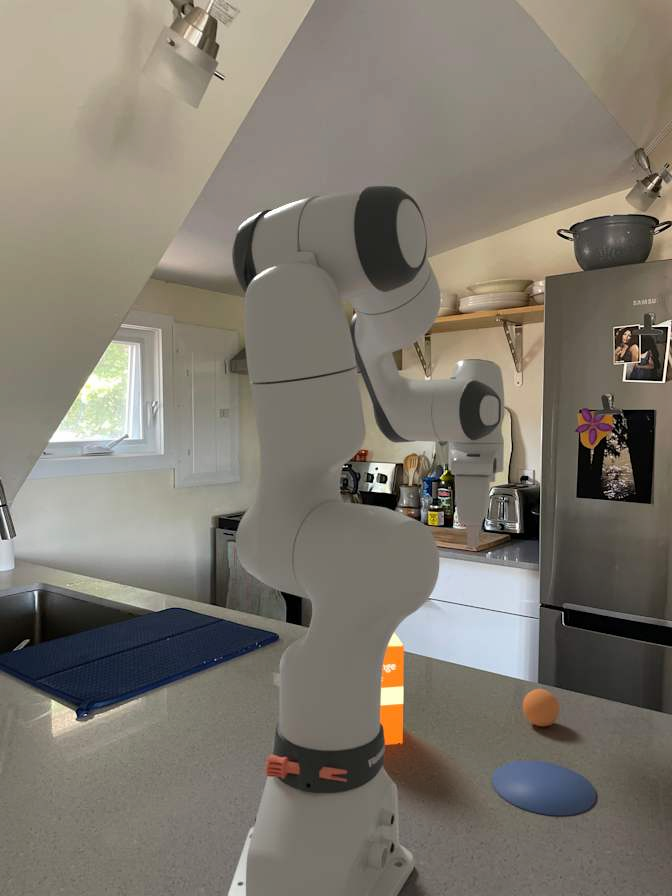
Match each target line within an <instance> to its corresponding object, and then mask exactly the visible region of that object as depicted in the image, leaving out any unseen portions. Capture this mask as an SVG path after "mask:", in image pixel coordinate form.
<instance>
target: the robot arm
mask: <svg viewBox="0 0 672 896" xmlns="http://www.w3.org/2000/svg"><path fill="white" fill-rule="evenodd" d="M427 239H428V237H427V229H426V225H425V220H424V216H423V213H422V211H421V209H420V207H419V205H418V204H417V202H416V201H415V198H413V197H412V196H411V195H409V194H408V193H407V192H406V191H404V190H403V189H401V188H400V187H397V186H390V185H375V186H373V185H372V186H368V187H366V188H364V189H363V190H355V191H347V192H346V191H345V192H340V193H339V192H338V193H332V194H328V195H323V196H321V195H314V196H310V197H307V198H303V199H300V200H297V201H293V202H291V203H288V204H285V205H282V206H280V207H278V208H275V209H265V210H262V211H261V212H258V213H257V214H254V215H253V216H251V217H249V218H247V220H244V221H243V223H242V224H241V225H239V228H238V229H237V231H236V235H235V239H234V242H233V245H232V246H233V247H232V251H231V254H232V255H231V257H232V265H233V270H234V273H235V276H236V280H237V282H238V284H239V285H240V288H242V291H243V292H244V293H245V296H244V317H243V318H244V343H245V344H244V345H245V356H246V364H247V365H246V366H247V373H248V378H249V385H250V390H251V396H252V403H253V409H254V416H255V421H256V430H257V436H258V443H259V454H260V456H259V458H260V459H259V461H260V463H259V475H258V476H259V478H258V484H257V491H256V494H255V498H254V501H253V503H252V505H251V506H249V508H247V510H246V511H245V513H244V514H243V516H242V518H241V519H240V522H239V523H238V527H237V530H236V535H235V536H236V537H235V550H236V554H237V555H236V556H237V557H238V561H239V562H240V564H241V566H242V568H243V569H244V570H245V571H246V572H247V573H249V574H250V575H252V576H253V577H255V578H256V579H258V581H260V582H262V583H263V584H266V585H267V586H268V587H270V588H271V589H273V590H275V591H279V592H282V593H286V594H289V595H294V596H297V597H300V598H304V599H307V600H310V602H311V606H312V609H311V610H312V614H311V619H310V623H309V627H308V630H307V633H306V634H305V635H303V636H301V637H300V638H298V639H297V640H295V641H294V642H293V643H291V644H290V645H289V646H288V647H287V649H285V651H284V652H283V654H282V656H281V659H280V662H279V667H278V668H279V674H278V675H279V676H278V677H279V678H278V679H279V681H278V682H279V684H278V685H279V689H278V690H279V691H278V693H279V694H278V695H279V696H278V700H279V701H278V702H279V703H278V705H279V706H278V707H279V709H278V715H279V716H278V719H279V720H278V723H277V724H276V727H275V734H274V738H273V740H272V748H271V749H272V751H271V753H272V754H270V755H269V756H268V758H267V761H266V764H265V765H266V766H265V774H266V776H267V777H266V781H265V786H264V788H263V792H262V795H261V799H260V804H259V806H258V811H257V814H256V816H255V817H254V825H253V826H252V827H251V828H250V829H249V830H248V832H247V836H246V839H245V842H244V844H243V848H242V851H241V854H240V856H239V859H238V863H237V865H236V868H235V871H234V874H233V877H232V880H231V884H230V886H229V889H228V893H227V895H226V896H398V895H399V894H400V892H401V890H402V888H403V887H404V885H405V884H406V882H407V880H408V879H409V877H410V876H411V873H412V872H413V870H414V868H415V861H414V859H415V858H414V855H413V854H412V852H411V851H409V850H408V849H407V848H406V847H404V846H403V845H402V844H400V834H399V833H400V832H399V831H400V830H399V827H400V826H399V801H398V797H399V795H398V787H397V785H396V784H395V782H394V780H393V779H391V777H390V775H389V774H388V773H387V771H386V770H385V768H384V762H385V750H386V745H385V738H384V729H383V726H382V724H381V723H380V708H381V684H382V669H383V663H384V657H385V654H386V650H387V647H388V644H389V642H390V639H391V637H392V635H393V634H394V632H395V633H396V630H397V628H398V627H399V626H400V625H401V623H402V622H403V621H404V620H405V619H407V618H408V617H409V616H411V615H412V614H414V613H416V612H417V611H418V610H420V608H422V607H423V606H424V604H425V603H426V602H427V601H428V600H429V598H430V597H431V595H432V593H433V592H434V589H436V588H435V587H436V584H437V581H438V579H439V572H440V553H439V548H438V544H437V541H436V539H435V537H434V535H433V533H432V532H431V530H430V528H429V527H427V525H426V524H424V523H423V522H421V521H419V520H417V519H415V518H413V517H410V516H408V515H405V514H404V513H401V512H399V511H395V510H392V509H390V508H388V507H385V506H384V507H383V506H377V505H370V504H362V503H354V502H353V503H352V502H347V501H344V500H343V498H342V495H341V477H342V471H343V467H344V465H345V464H347V463H349V461H351V459H353V458H354V457H355V456H357V454H358V453H359V452H360V450H361V449H362V447H363V445H364V443H365V440H366V439H365V438H366V435H367V434H366V430H367V429H366V423H365V416H364V409H363V404H362V402H363V401H362V396H361V387H360V381H359V374H358V373H359V372H358V369H359V371H360V374H361V376H362V379H363V381H364V385H365V387H366V390H367V392H368V395H369V398H370V400H371V403H372V409H373V414H374V420H375V422H376V423H375V424H376V425H377V428H378V429H379V431H380V432H381V433H382V434H383V435H384V437H386V439H387V440H389V441H390V442H392V443H397V444H398V443H409V442H411V443H412V442H439V443H440V442H441V443H445V442H448V464H447V465H448V466H447V467H448V471H450V474H451V475H454V491H455V505H456V514H457V520H458V523H459V524H460V525H465V527H466V535H467V536H466V537H467V542H466V544H467V547H468V548H471V549H477V548H478V547H479V545H480V542H481V540H482V528H483V522H484V519H485V518H486V516H487V513H488V510H489V508H490V494H491V493H490V488H491V487H490V484H491V483H494V482H496V474H497V473H503V471H504V459H505V458H504V455H505V454H504V451H505V447H504V445H505V441H504V435H503V433H502V432H503V431H502V430H503V429H502V426H503V423H504V422H503V421H504V419H505V389H504V388H505V387H504V379H503V375H502V374H503V373H502V370H501V367H500V365H499V364H497V363H495V362H494V361H491V360H486V359H479V358H477V359H475V358H471V359H469V358H468V359H463V360H459V361H457V362H455V364H454V366H453V371H452V376H450V377H449V378H444V379H441V378H439V379H412V378H408V377H404V376H402V375H400V372H399V369H398V367H397V364H396V361H395V358H394V354H393V353H394V352H397V351H400V350H402V349H406V348H408V347H410V346H411V345H413V344H415V343H416V342H418V341H419V340H420V339H422V337H424V336H425V335H426V333H428V332H429V330H430V329H431V328H432V326H433V325H434V323H435V322H436V320H437V317H438V315H439V311H440V309H441V302H442V298H441V297H442V295H441V291H440V285H439V283H438V279H437V277H436V274H435V272H434V269H433V268H432V266H431V264H430V261H429V260H428V257H427V252H428V248H427V247H428V242H427ZM344 300H345V301H346V300H348V302H350V304H351V307H352V308H353V310H354V312H355V313H354V315H353V316H352V319H351V321H350V324H349V322H348V318H347V314H346V312H345V311H346V310H345V307H344V305H343V301H344ZM357 366H358V367H357Z"/></svg>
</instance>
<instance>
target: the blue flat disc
mask: <svg viewBox="0 0 672 896" xmlns="http://www.w3.org/2000/svg"><path fill="white" fill-rule="evenodd" d="M491 785H492V788H493V789H494V791H495V792H496V793H497V795H499V796H500V798H502V799H504V800H505V802H507V803H509V804H511V805H513V806H515V807H517V808H519V809H522V810H525V811H528V812H531V813H536V814H540V815H545V816H557V817H558V816H559V817H560V816H563V817H565V816H573V815H577V814H580V813H583V812H586V811H588V810H589V809H591V808H592V806H593V805H594V804H595V803H596V799H597V793H596V792H597V791H596V789H595V787H594V786H593V784H592V783H591V782H590V781H589V780H588V779H587V778H585V777H584V775H581V774H580V773H578V772H577V771H574V770H573V769H570V768H568V767H566V766H562V765H559V764H555V763H551V762H547V761H539V760H520V761H519V760H518V761H513V762H509V763H508V762H507V763H506V764H503V765H501V766H500V767H498V768H496V769H495V770H494V771H493V774H492V776H491Z"/></svg>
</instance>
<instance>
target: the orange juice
mask: <svg viewBox="0 0 672 896" xmlns="http://www.w3.org/2000/svg"><path fill="white" fill-rule="evenodd" d="M397 635H398V634H396V631H395V632H394V634H393V635H392V637H391V639H390V642H389V644H388V647H387V650H386V654H385V657H384V663H383V669H382V684H381V708H380V723H381V724H382V726H383V729H384V738H385V746H389V745H398V743H400V744H403V741H404V740H403V739H404V734H403V733H404V732H403V731H404V729H403V728H404V691H405V690H404V687H405V686H404V661H405V659H404V658H405V657H404V656H405V655H404V652H405V650H404V649H405V646H404V644H403V642H402V641H401V640H400V638H399V636H397Z"/></svg>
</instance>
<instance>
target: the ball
mask: <svg viewBox="0 0 672 896" xmlns="http://www.w3.org/2000/svg"><path fill="white" fill-rule="evenodd" d="M522 702H523V703H522V709H523V710H522V711H523V714H524V716H525V717H526V718H527V720H528V721H529V722H530V723H532V724H533V725H534V726H538V727H549V726H551V725H553V724H554V723H555V722H556V721H557V719H558V718H559V715H560V704H559V701H558V699H557V698H556V696H555V695H554V694H553V693H552V692H550V691H549V690H546V689H545V688H544V689H543V688H536V689H533V690H531V691H529V692H528V693H526V695H525V696H524V699H523V701H522Z"/></svg>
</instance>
